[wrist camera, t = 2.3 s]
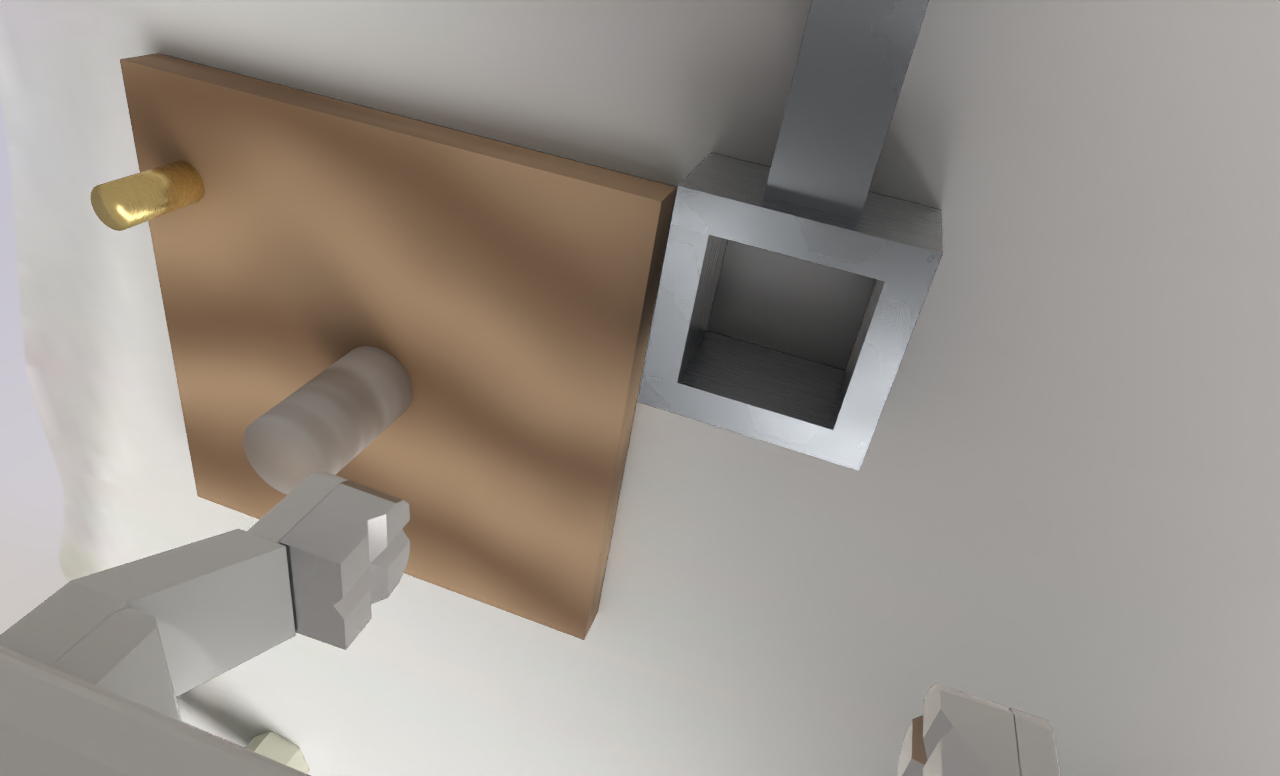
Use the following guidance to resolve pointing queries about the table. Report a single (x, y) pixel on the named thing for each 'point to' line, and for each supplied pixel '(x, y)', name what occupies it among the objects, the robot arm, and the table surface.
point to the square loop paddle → (802, 247)
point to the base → (405, 324)
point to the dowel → (147, 195)
